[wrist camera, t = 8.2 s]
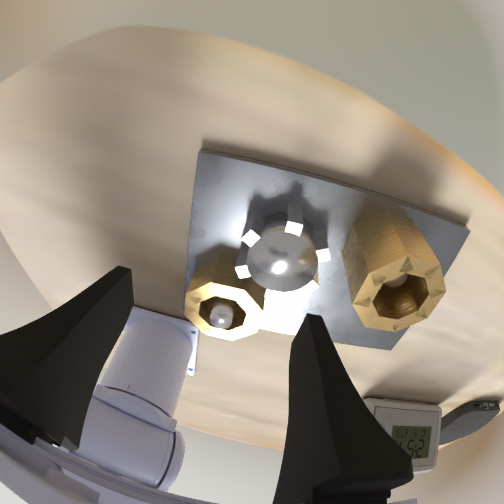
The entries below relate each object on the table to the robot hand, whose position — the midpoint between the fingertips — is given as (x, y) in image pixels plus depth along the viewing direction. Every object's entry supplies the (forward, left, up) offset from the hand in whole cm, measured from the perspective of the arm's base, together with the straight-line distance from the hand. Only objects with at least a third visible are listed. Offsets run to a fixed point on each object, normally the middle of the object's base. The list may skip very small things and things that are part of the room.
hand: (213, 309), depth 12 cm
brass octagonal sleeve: (0, -10, -9) cm, 14 cm away
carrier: (-4, -7, -10) cm, 12 cm away
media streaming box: (-31, -47, -10) cm, 57 cm away
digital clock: (-25, -27, -10) cm, 38 cm away
